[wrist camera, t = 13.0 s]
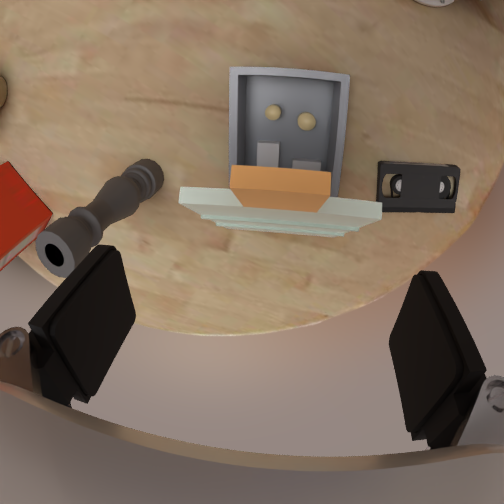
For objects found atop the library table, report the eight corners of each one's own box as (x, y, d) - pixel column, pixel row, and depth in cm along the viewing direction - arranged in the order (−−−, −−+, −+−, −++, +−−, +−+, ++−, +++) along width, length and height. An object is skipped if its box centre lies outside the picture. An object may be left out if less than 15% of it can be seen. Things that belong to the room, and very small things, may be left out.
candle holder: (149, 151, 46) (48, 217, 25) (171, 181, 49) (86, 265, 27) (124, 172, 49) (26, 245, 27) (145, 200, 51) (60, 287, 30)
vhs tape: (455, 164, 41) (460, 167, 39) (449, 208, 45) (454, 213, 43) (377, 159, 43) (380, 163, 41) (374, 207, 47) (377, 212, 45)
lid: (415, 183, 14) (415, 211, 14) (334, 228, 41) (333, 239, 41) (147, 163, 16) (142, 190, 16) (227, 219, 42) (226, 230, 42)
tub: (340, 76, 37) (350, 74, 30) (327, 204, 47) (333, 226, 41) (240, 69, 38) (229, 66, 32) (238, 197, 49) (229, 218, 42)
